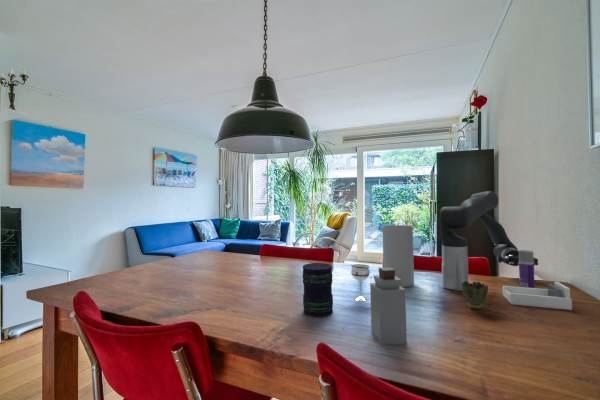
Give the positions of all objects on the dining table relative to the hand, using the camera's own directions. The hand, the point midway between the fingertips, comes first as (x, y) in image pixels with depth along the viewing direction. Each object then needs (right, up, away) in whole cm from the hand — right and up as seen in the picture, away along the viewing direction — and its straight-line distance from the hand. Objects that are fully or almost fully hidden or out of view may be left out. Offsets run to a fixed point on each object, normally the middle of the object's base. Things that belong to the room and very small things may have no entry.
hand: (520, 262), depth 120 cm
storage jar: (-89, -10, -28) cm, 93 cm away
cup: (-37, -9, -28) cm, 47 cm away
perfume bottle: (-72, -9, -47) cm, 86 cm away
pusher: (-8, -7, -25) cm, 28 cm away
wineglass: (-72, -10, -17) cm, 75 cm away
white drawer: (-13, -8, -23) cm, 28 cm away
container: (-4, -9, -9) cm, 13 cm away
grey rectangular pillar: (-52, -10, +2) cm, 52 cm away
